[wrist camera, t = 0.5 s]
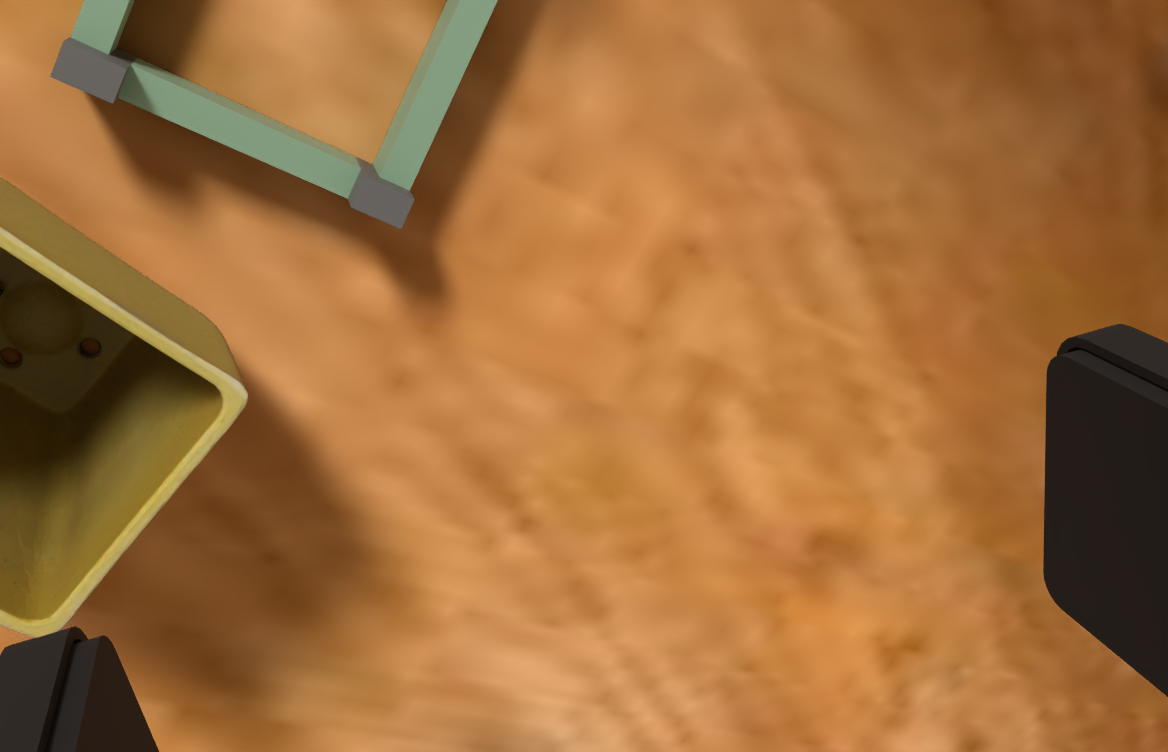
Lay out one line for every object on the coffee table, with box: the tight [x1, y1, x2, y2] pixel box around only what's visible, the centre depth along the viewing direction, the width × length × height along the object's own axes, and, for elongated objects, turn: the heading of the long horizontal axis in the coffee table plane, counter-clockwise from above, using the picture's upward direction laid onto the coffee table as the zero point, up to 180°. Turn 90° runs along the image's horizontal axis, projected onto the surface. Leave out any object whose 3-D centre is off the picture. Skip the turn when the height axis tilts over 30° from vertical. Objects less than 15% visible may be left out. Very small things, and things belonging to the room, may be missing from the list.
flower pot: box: [0, 177, 248, 638], centre depth 30 cm, size 9×9×9 cm
